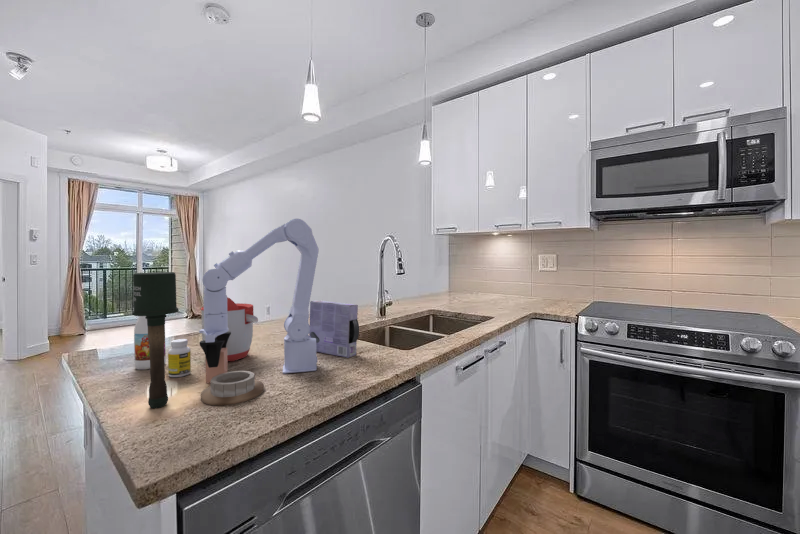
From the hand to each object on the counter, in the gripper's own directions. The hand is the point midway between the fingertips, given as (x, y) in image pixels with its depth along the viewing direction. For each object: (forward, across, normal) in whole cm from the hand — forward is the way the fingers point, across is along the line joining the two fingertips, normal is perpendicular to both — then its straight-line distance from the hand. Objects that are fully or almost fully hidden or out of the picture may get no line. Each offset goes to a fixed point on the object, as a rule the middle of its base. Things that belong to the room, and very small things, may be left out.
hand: (216, 362), depth 96 cm
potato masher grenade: (+5, +15, -9) cm, 18 cm away
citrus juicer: (+5, -21, 0) cm, 22 cm away
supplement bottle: (+5, -7, -11) cm, 14 cm away
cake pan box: (+5, -17, +33) cm, 37 cm away
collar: (+4, +12, +6) cm, 14 cm away
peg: (+5, 0, 0) cm, 5 cm away
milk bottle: (+5, -18, -22) cm, 29 cm away
